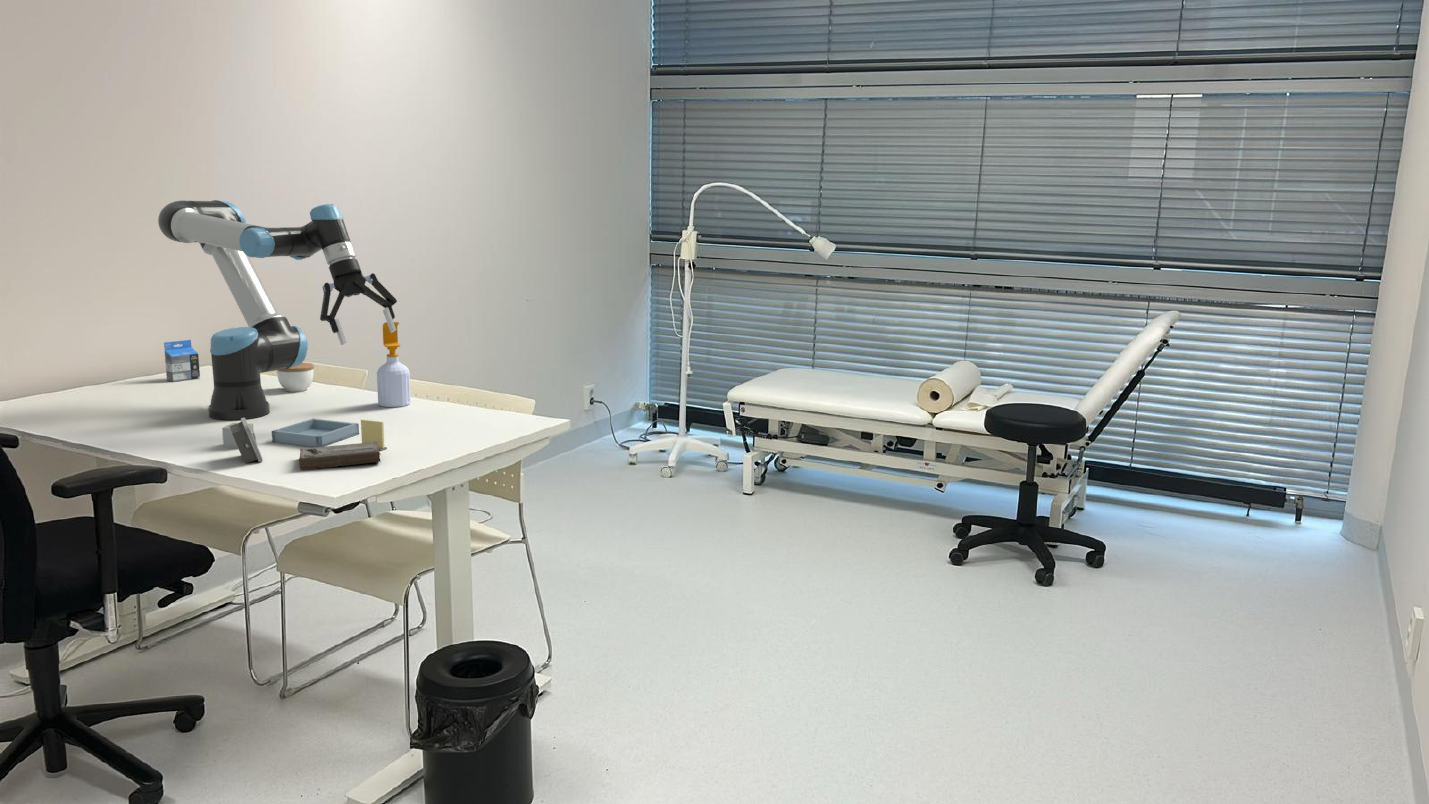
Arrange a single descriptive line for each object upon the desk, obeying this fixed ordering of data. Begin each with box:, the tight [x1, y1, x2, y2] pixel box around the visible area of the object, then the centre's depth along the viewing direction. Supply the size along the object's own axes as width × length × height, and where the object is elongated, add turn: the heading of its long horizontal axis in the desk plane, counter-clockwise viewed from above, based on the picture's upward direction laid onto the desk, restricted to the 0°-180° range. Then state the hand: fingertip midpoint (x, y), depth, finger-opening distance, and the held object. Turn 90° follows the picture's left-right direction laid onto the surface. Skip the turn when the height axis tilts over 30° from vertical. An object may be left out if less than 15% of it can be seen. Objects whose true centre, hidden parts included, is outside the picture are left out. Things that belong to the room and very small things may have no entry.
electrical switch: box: [229, 418, 264, 464], centre depth 223 cm, size 9×5×9 cm, turn 30°
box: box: [298, 442, 381, 471], centre depth 224 cm, size 11×17×3 cm, turn 111°
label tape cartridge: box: [163, 339, 201, 383], centre depth 309 cm, size 9×4×12 cm, turn 147°
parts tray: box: [271, 417, 360, 448], centre depth 244 cm, size 14×15×3 cm
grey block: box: [221, 422, 255, 449], centre depth 235 cm, size 5×5×5 cm
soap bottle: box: [376, 321, 412, 408], centre depth 282 cm, size 9×9×25 cm
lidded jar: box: [276, 361, 315, 393], centre depth 299 cm, size 11×11×9 cm
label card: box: [360, 419, 388, 452], centre depth 235 cm, size 6×2×7 cm, turn 73°
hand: (369, 337), depth 257 cm, fingers open, 13 cm apart
